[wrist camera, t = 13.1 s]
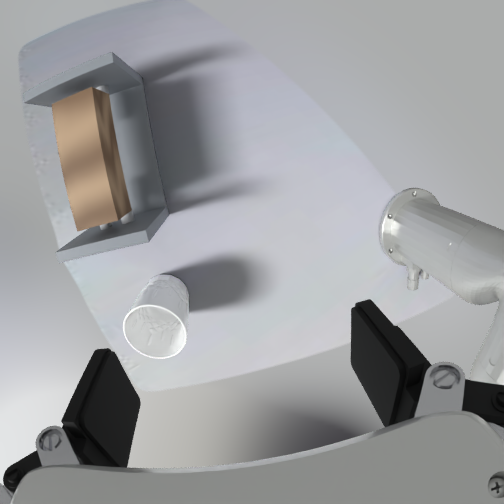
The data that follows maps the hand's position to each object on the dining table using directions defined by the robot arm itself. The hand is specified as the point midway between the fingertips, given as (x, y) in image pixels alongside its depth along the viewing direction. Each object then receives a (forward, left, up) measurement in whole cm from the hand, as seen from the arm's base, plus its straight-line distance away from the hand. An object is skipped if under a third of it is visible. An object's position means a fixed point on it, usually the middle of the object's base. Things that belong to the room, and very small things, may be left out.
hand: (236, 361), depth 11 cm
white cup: (-11, +11, -31) cm, 34 cm away
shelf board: (+10, +13, -24) cm, 29 cm away
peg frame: (+10, +13, -30) cm, 34 cm away
